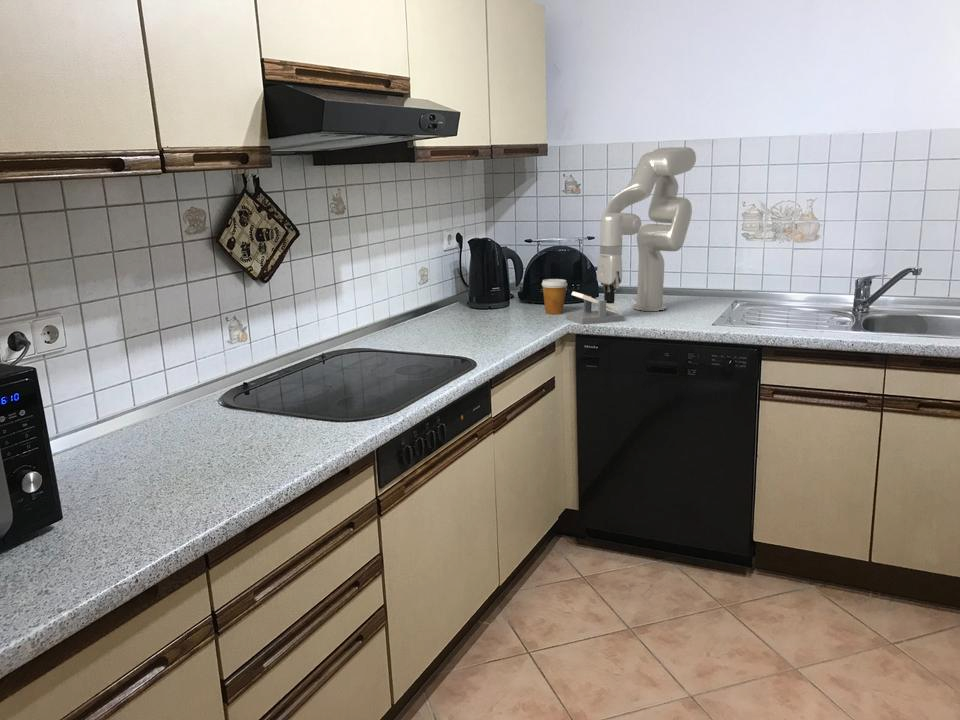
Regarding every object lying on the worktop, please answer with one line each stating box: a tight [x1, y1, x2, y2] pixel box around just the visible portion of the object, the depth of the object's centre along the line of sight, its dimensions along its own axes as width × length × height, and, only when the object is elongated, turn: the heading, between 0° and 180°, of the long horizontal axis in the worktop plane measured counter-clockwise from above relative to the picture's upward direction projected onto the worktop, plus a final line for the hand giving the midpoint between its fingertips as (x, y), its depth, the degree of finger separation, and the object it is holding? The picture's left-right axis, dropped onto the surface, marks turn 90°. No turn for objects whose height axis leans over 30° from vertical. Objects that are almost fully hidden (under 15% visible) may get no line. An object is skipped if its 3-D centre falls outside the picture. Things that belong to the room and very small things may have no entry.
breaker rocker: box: [571, 291, 619, 312], centre depth 273 cm, size 8×15×1 cm, turn 111°
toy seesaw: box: [565, 295, 624, 325], centre depth 273 cm, size 12×16×8 cm
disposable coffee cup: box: [541, 278, 568, 315], centre depth 287 cm, size 10×10×12 cm
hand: (609, 303), depth 275 cm, fingers closed
